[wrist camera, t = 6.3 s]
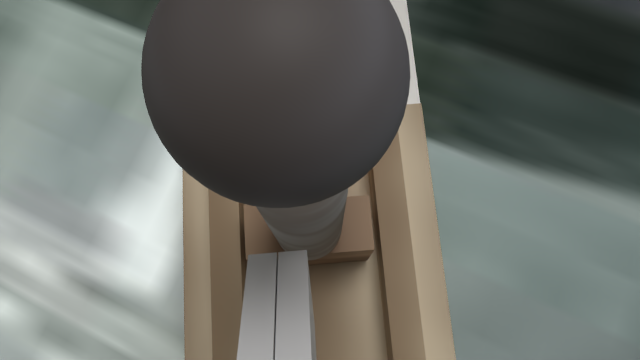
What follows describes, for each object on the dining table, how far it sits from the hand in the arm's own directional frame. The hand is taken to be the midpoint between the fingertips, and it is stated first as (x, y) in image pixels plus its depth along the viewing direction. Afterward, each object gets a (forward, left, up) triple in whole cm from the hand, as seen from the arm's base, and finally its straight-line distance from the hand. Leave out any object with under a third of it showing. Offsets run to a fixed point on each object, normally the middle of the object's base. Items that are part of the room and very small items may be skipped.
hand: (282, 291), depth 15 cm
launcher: (-1, -2, -15) cm, 15 cm away
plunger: (-1, -2, -8) cm, 8 cm away
